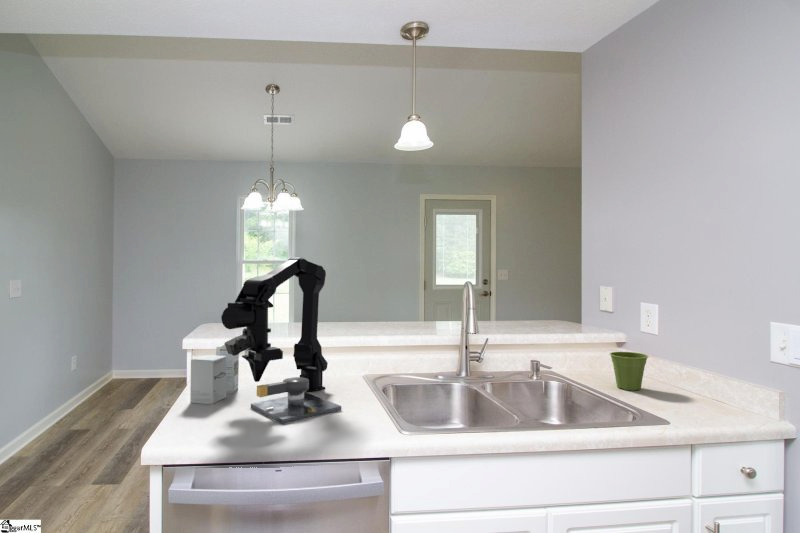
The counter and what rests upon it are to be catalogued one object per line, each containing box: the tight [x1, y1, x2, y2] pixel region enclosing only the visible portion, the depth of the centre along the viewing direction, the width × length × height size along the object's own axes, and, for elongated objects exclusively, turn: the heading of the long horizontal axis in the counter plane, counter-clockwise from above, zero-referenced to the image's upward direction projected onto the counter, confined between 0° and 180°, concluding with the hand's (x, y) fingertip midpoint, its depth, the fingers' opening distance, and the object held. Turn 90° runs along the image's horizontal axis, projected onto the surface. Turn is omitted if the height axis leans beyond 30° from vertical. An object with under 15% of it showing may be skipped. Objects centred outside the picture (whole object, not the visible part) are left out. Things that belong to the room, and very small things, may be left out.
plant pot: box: [609, 351, 649, 392], centre depth 163 cm, size 12×12×11 cm
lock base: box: [250, 391, 342, 425], centre depth 136 cm, size 18×18×5 cm
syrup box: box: [215, 343, 240, 395], centre depth 153 cm, size 6×6×14 cm
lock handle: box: [256, 376, 309, 398], centre depth 133 cm, size 15×7×3 cm, turn 132°
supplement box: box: [189, 354, 227, 405], centre depth 144 cm, size 7×7×13 cm
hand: (256, 381), depth 135 cm, fingers closed
